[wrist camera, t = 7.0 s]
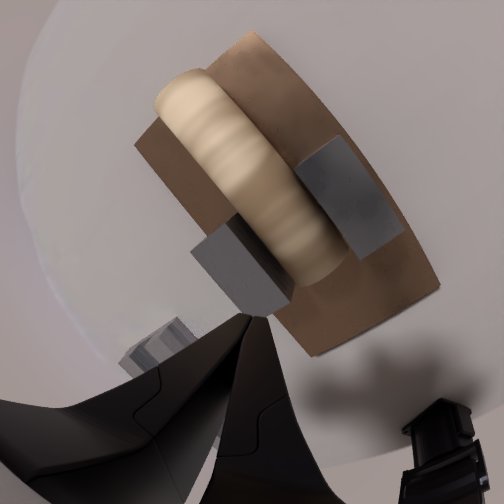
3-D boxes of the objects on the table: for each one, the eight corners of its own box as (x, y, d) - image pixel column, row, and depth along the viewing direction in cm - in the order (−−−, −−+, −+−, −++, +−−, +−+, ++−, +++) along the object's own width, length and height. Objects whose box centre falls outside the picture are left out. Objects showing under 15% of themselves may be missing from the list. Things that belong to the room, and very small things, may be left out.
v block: (280, 418, 29) (275, 439, 26) (223, 433, 33) (216, 451, 30) (176, 316, 27) (161, 335, 24) (129, 348, 30) (115, 364, 28)
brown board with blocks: (436, 278, 20) (458, 314, 15) (312, 349, 25) (306, 392, 20) (255, 34, 16) (235, 8, 12) (141, 144, 21) (99, 150, 17)
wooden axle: (347, 236, 19) (350, 261, 16) (300, 267, 21) (292, 296, 17) (214, 74, 17) (188, 63, 14) (174, 113, 19) (142, 112, 15)
